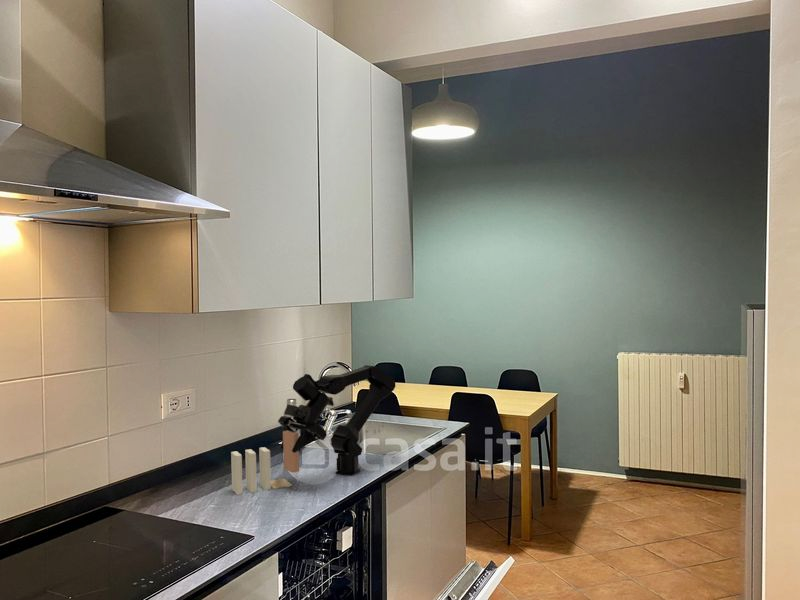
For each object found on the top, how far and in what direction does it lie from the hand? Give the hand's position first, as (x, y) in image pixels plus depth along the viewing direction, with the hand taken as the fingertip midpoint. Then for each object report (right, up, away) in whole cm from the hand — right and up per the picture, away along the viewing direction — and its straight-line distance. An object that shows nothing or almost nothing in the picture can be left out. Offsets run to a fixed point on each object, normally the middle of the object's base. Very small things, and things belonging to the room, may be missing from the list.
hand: (287, 450), depth 198 cm
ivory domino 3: (-8, -13, +4) cm, 15 cm away
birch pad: (-4, -12, +6) cm, 14 cm away
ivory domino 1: (-16, -13, 0) cm, 20 cm away
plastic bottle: (-6, -12, +46) cm, 48 cm away
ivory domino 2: (-12, -13, +2) cm, 17 cm away
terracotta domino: (+1, -7, +1) cm, 7 cm away
